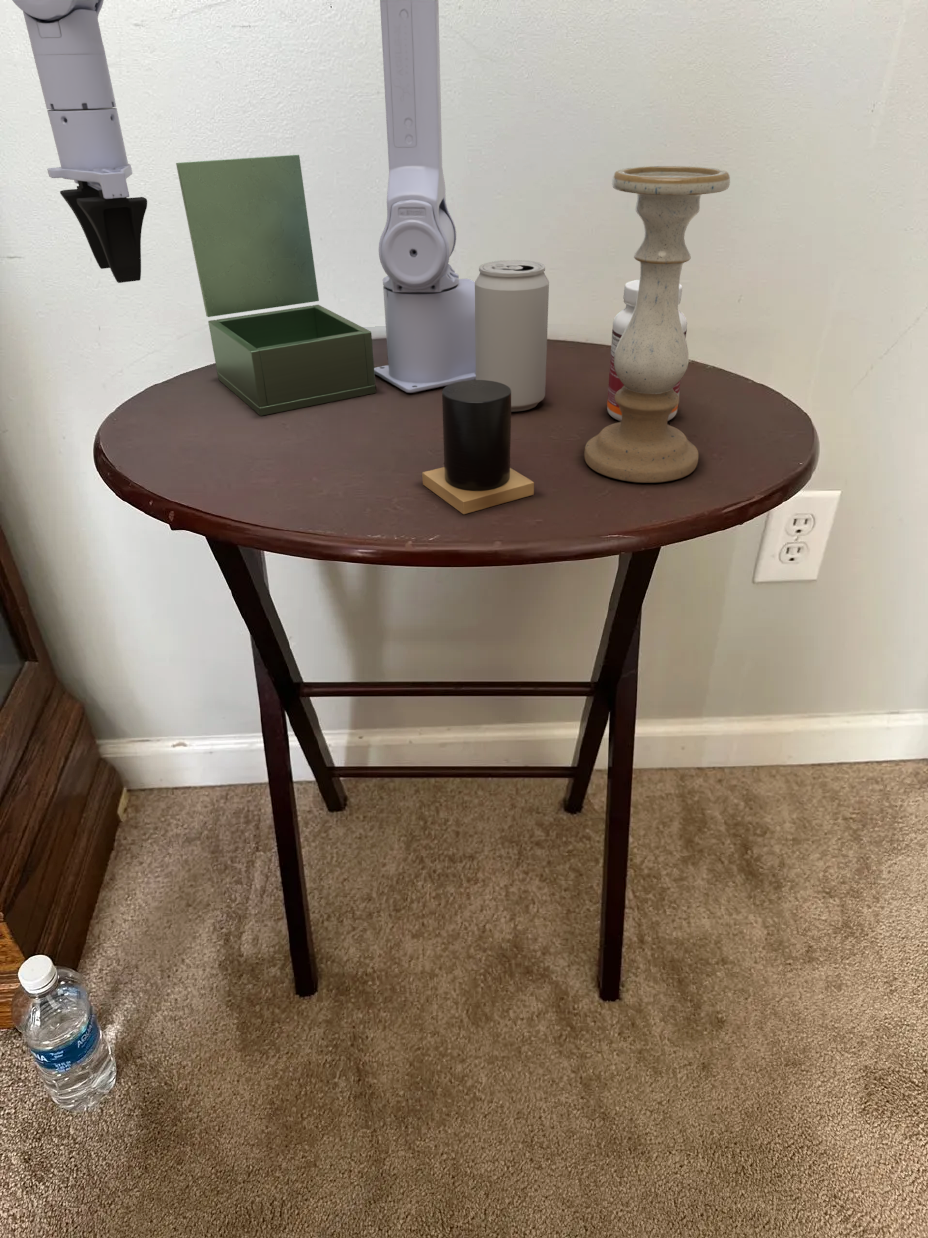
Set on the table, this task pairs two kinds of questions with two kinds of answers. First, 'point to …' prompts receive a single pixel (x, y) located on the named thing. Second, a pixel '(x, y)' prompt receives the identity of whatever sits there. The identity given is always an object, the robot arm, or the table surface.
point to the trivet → (477, 499)
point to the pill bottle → (617, 331)
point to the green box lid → (249, 233)
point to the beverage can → (512, 328)
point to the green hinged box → (293, 358)
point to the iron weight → (476, 434)
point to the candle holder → (654, 331)
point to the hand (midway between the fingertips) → (119, 273)
